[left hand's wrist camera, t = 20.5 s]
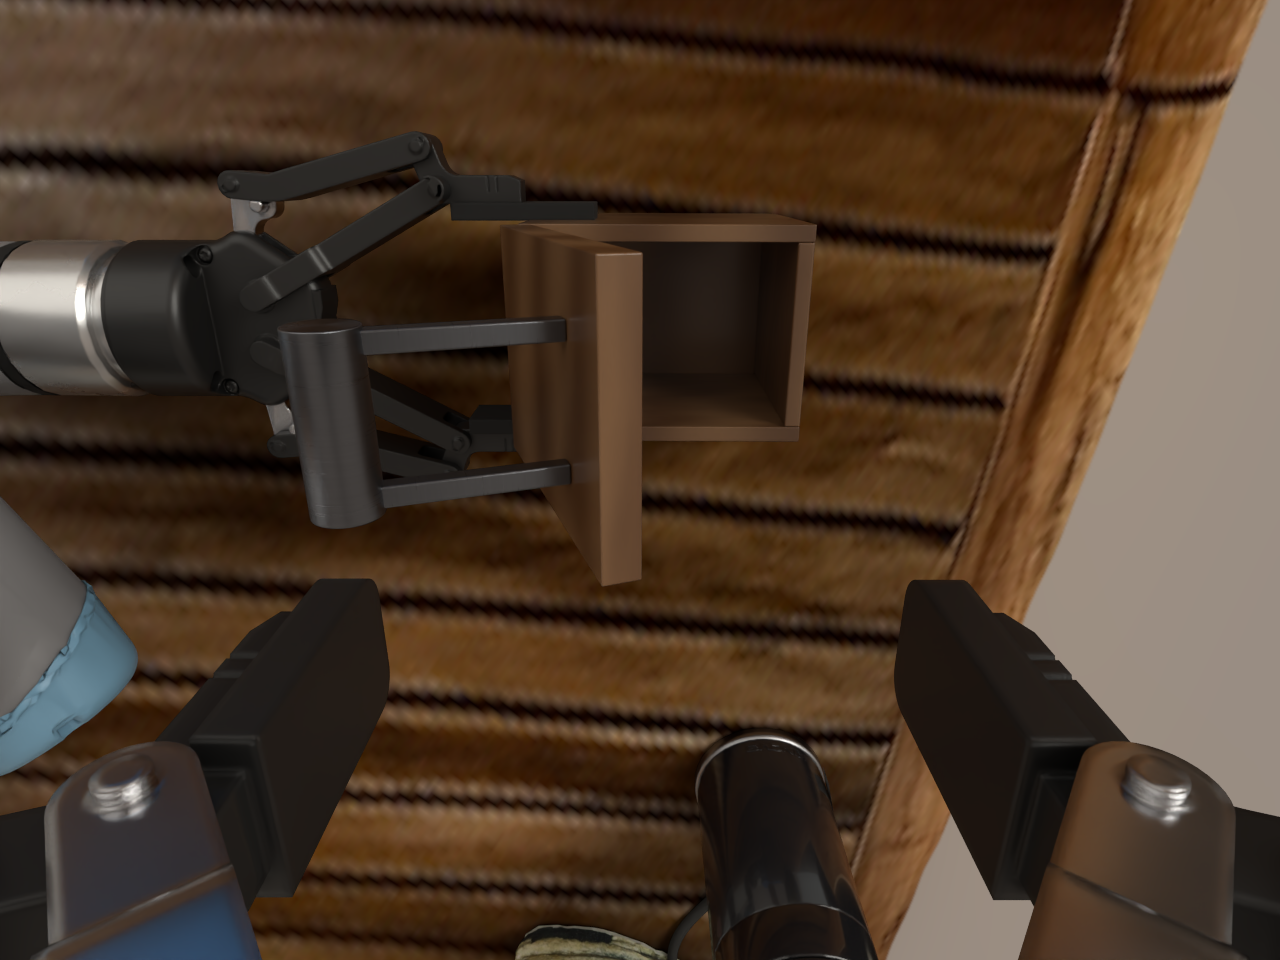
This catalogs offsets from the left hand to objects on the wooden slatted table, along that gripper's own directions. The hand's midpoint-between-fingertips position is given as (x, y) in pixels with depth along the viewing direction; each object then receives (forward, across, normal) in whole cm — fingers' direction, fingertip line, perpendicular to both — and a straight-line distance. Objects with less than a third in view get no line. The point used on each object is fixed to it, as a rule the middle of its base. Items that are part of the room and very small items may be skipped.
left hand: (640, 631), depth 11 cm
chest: (+34, -1, 0) cm, 34 cm away
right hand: (+28, +2, 0) cm, 28 cm away
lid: (+16, +2, 0) cm, 17 cm away
